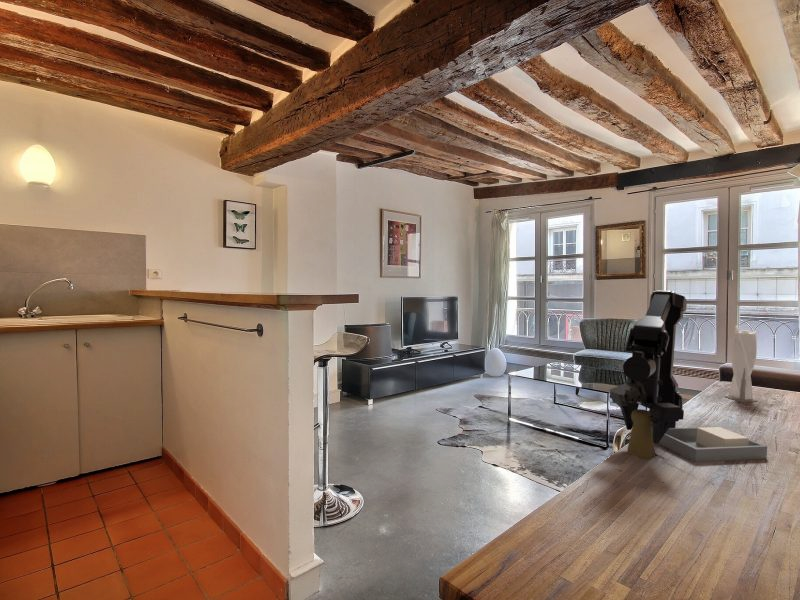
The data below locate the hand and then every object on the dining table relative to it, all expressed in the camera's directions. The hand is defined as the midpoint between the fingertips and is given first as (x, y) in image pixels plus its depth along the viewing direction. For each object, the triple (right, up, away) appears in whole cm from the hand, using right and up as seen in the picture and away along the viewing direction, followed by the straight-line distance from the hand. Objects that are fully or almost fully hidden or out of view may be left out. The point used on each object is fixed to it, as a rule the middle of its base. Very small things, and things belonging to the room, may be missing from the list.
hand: (641, 436), depth 107 cm
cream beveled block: (+22, -4, +3) cm, 23 cm away
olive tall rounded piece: (0, -5, 0) cm, 5 cm away
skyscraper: (+70, -4, +57) cm, 91 cm away
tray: (+18, -5, +2) cm, 19 cm away
